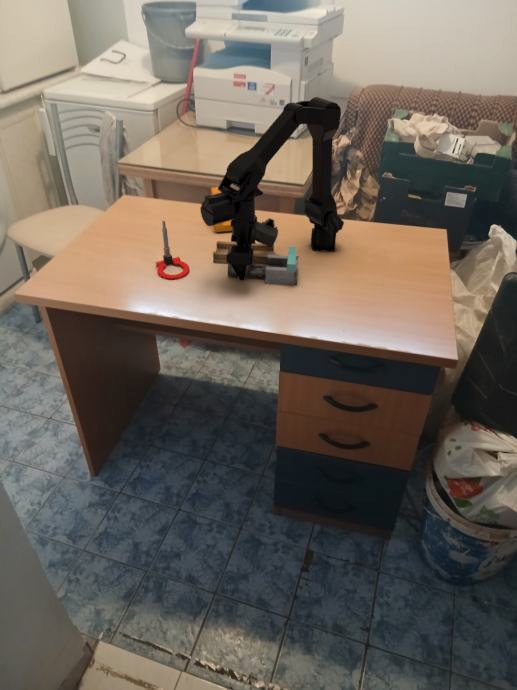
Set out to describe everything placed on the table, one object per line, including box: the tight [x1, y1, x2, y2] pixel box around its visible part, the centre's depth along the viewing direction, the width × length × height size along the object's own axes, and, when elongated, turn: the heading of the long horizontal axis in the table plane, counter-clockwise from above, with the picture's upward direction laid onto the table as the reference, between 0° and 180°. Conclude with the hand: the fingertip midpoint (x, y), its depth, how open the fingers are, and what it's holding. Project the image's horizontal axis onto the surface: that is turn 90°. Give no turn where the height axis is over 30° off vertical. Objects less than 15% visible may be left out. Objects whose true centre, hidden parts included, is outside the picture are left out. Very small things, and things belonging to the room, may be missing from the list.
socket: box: [264, 254, 299, 286], centre depth 132 cm, size 8×8×4 cm
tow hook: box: [155, 220, 190, 281], centre depth 131 cm, size 8×13×9 cm
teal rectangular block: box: [287, 246, 297, 272], centre depth 130 cm, size 2×9×2 cm, turn 175°
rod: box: [227, 264, 282, 279], centre depth 133 cm, size 14×4×4 cm, turn 85°
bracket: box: [210, 186, 232, 233], centre depth 152 cm, size 11×7×12 cm, turn 11°
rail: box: [212, 240, 275, 265], centre depth 140 cm, size 16×8×3 cm, turn 85°
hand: (243, 270), depth 133 cm, fingers open, 9 cm apart
